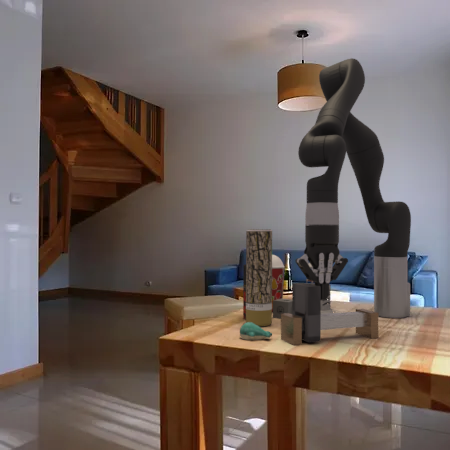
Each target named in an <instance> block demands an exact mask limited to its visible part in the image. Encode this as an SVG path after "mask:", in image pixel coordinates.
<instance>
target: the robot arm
mask: <svg viewBox="0 0 450 450" xmlns="http://www.w3.org/2000/svg"><path fill="white" fill-rule="evenodd" d="M318 75H319V76H318V79H319V85H320V89H321V91H322V93H323V96H324V98H325V101H326V102H325V103H324V105H323V106H322V107H321V109H320V110H319V112H318V115H317V117H316V120H315V123H314V125H313V126H312V127H311V129H309V130H308V131H307V132H306V134H305V135H304V136H303V138H302V139H301V141H300V144H299V147H298V151H297V152H298V160H299V161H300V163H301V165H303V166H305V167H306V168H324V167H327V169H326V170H325V171H324V173H323V174H322V175H321V174H320V175H317V176H314V177H311V178H309V179H308V180H307V182H306V207H305V218H304V219H305V227H304V228H305V229H304V230H305V231H304V232H305V233H304V235H305V236H304V238H305V239H304V240H305V241H304V242H305V248H304V251H303V255H302V256H300V257H299V258H296V259H294V260H295V264H296V265H297V266H298V268H299V270H300V271H301V272H302V273H303V275H304V276H305V279H308V280H311V281H314V282H313V283H315V285H316V286H321V300H328V299H327V297H328V296H329V284H330V282H333V281H336V280H337V279H338V277H339V276H340V274H341V273H342V272H343V270H344V269H345V267H346V265H347V264H348V263H349V259H348V258H347V257H343V256H342V255H341V252H340V249H339V243H340V214H339V213H340V210H339V182H340V177H341V172H342V169H343V165H344V162H345V159H346V155H347V157H348V160H349V164H350V166H351V167H352V170H353V173H354V176H355V179H356V181H357V184H358V188H359V191H360V194H361V199H362V202H363V206H364V211H365V215H366V218H367V222H368V224H369V226H370V228H371V229H372V230H373V232H374V233H375V232H376V233H379V234H387V235H388V236H387V239H386V240H385V241H384V242H383V243H381V244H378V245H376V246H375V247H374V249H373V300H374V301H373V312H377V313H378V317H382V318H391V319H394V318H395V319H400V318H401V319H402V318H407V317H411V283H410V282H408V252H409V248H410V246H411V245H410V244H411V243H410V242H411V225H412V215H411V209H410V207H409V206H408V204H407V203H406V202H404V201H385V200H384V199H383V196H382V193H381V189H380V180H381V177H382V172H383V170H384V169H383V168H384V163H385V155H384V152H383V149H382V145H381V143H380V139H379V137H378V136H377V134H376V133H375V131H373V129H371V128H370V127H369V126H367V124H365V123H364V122H362V121H361V120H360V119H358V118H357V117H356V116H355V115H354V114H353V113H352V112H351V111H352V109H353V107H354V106H355V103H356V102H357V100H358V98H359V97H360V94H362V91H363V89H364V88H365V87H364V86H365V83H366V77H365V76H366V75H365V72H364V69H363V67H362V64H361V62H360V61H359V60H358V59H356V58H352V57H351V58H347V59H344V60H341V61H340V62H337V63H335V64H332V65H330V66H327V67H325V68H323V69H321V70H320V71H319V74H318ZM308 263H310V264H311V265H312V269H311V268H310V267H309V265H308Z"/></svg>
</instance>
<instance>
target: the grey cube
mask: <svg viewBox="0 0 450 450" xmlns="http://www.w3.org/2000/svg"><path fill="white" fill-rule="evenodd" d="M283 313H290V314H292V298H291V299H290V298H283V299H277V300H273V312H272V319H278V320H281V314H283Z"/></svg>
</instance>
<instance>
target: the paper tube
mask: <svg viewBox="0 0 450 450" xmlns="http://www.w3.org/2000/svg"><path fill="white" fill-rule="evenodd" d="M245 232H246V233H245V235H246V236H245V238H246V239H245V241H246V244H245V245H246V246H245V247H246V249H245V264H246V320H245V323H247V322H252V323H254V324H255V325H257V326H259V327H267V326H270V325H272V320H273V312H272V255H273V230H272V229H268V228H266V229H265V228H264V229H263V228H262V229H259V228H258V229H257V228H256V229H255V228H253V229H252V228H251V229H250V228H248V229H246V231H245Z"/></svg>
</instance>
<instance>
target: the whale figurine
mask: <svg viewBox="0 0 450 450" xmlns="http://www.w3.org/2000/svg"><path fill="white" fill-rule="evenodd" d="M239 337H240V338H241V339H243V340H245V341H262V340H265V339H266V340H269V339H270V338H272V337H273V333H272V331H271V332H270V331H269V330H265V329H263V328H262V327H261V326H257V325H255V324H254V323H252V322H247V323H246V322H245V323H243V324H242V325H241V327H240V329H239Z"/></svg>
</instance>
